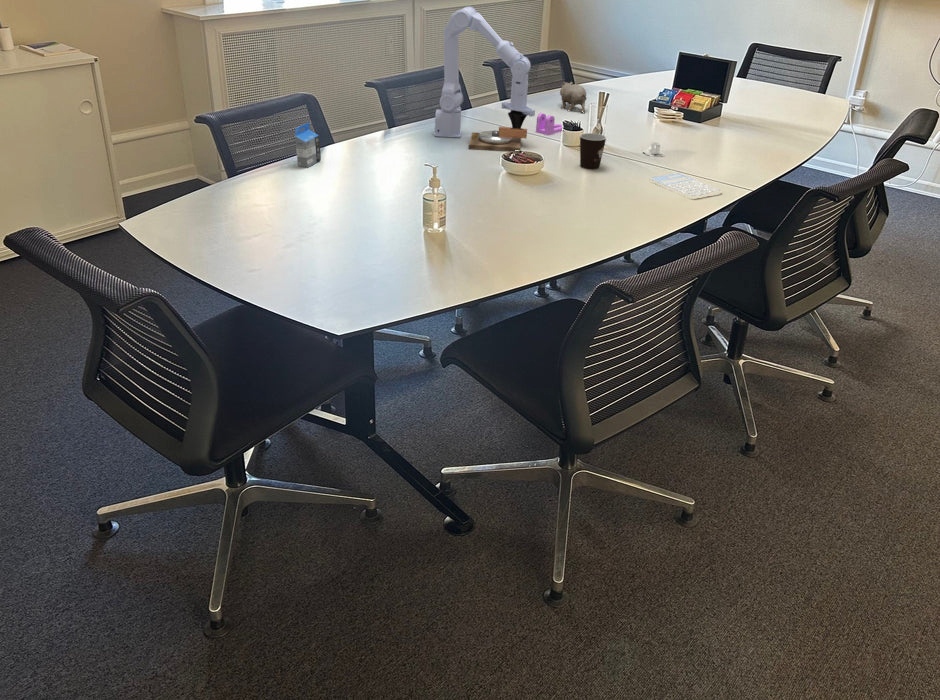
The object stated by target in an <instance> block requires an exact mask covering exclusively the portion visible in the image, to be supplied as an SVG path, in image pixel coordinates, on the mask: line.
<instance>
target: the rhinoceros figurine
mask: <svg viewBox="0 0 940 700" xmlns="http://www.w3.org/2000/svg"><path fill="white" fill-rule="evenodd" d="M559 94H560V96H561V102H562V106H561V107H560V108H561V109H563V108H564V109H566V108H567V105H566V103H568V104H569V107H568V108H567V110H570V111H569V112H572V111H573V110H574V109H575V107H576V106H579V105H580V107H581V111H580V112H581V113H583V112H585V113H586V111H585V106H586V105H585V103H586V100H587V99H588V98H587V91H586V89H585V88H584V87H583V86H581V85H578V84H576V83H573V82H572V81H570V82H565V81H563V82H562V86H561V88H560V90H559ZM571 110H572V111H571ZM582 111H583V112H582Z"/></svg>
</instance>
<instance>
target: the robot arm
mask: <svg viewBox="0 0 940 700" xmlns="http://www.w3.org/2000/svg"><path fill="white" fill-rule="evenodd" d="M468 28H469V31H473V32H474V31H475V32H478V33H480V34H481V35H482V36H483V37H484V38H485V39H486V40H487V41H488V42H489V43H490V44H491V45H492V46H493V47H494V48H495V53H496V55H497V56H498V57H499V58H500V59H501V60H502V61H503V62H504V63H505V65H506V66H508V67H509V68H510V72H511V74H512V76H511V77H512V78H511V90H510V102H506V101H504V102H501V109H506V110H509V112H507V116H508V118H509V120H510V122H511V125H512V126H511V128H522V127H523V126H522V125H523V124H524V121H525V120H526V118H527V117H528V116H529V117H535V116H536V115H535V114H536V110H535V109H532V108H530V107H529V106H527V101H528V89H529V88H528V87H529V72H530V70H531V66H532V65H531V61H530V60H529V58H528V57H527V56H524V54H523V53H520V52H519V50H517V48H516V47H514V45H515V44H514V43H513V42H512V41H509V40H504V39H502V38H501V37H500V36H499V34H498V33H497V32H496V31H495V30H494V29H493V27H491V25H490V24H489V23H488V22H487V21H486V19H485V18H484V17H483V16H482V14H481V13H480V12H477V10H476V9H475V8H474V7H472V6H465V7H463V8H461V9H458V10H456V11H455V12H453V13H452V14H451V15H450V18H449V20H448V21H447V24H446V25H445V27H444V29H443V69H444V70H443V74H444V77H443V81H444V82H443V85H442V89H441V96H440V98H439V106H440V108H441V109H436V110H435V117H434V118H435V119H434V136H435V137H442V138H444V137H445V138H457V139H458V138H459V139H460V138H461V137H462V134H463V130H461V129H462V128H461V127H462V126H461V125H462V124H461V123H462V120H461V119H462V107H461V105H462V104H463V102H464V94H463V92H462V89H461V88H462V85H461V84H460V82H459V77H460V76H459V71H460V69H459V67H460V66H459V63H460V62H459V36H460V35H461V34H462V33H463V32H464V31H465V30H466V29H468Z"/></svg>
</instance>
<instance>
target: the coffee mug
mask: <svg viewBox="0 0 940 700" xmlns="http://www.w3.org/2000/svg"><path fill="white" fill-rule="evenodd" d="M606 140H607V136H605V135H603V134H600V133H595V132H594V133H592V132H588V133H581V134H580V135H579V159H580V161H579V164H580V166H579V167H581V168H583V169H586V170H597V169H599V168H600V166H601V162H602V158H603V157H602V156H603V153H604V149H605V145H606Z"/></svg>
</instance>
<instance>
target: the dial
mask: <svg viewBox="0 0 940 700" xmlns="http://www.w3.org/2000/svg"><path fill="white" fill-rule="evenodd" d="M479 133H480V134H479V140H480V141H482V142H485V143H489V144H507V143H510V142H512V138H513V137H515V138H521V139H527V137H528V128H523V127H521V128H512V126H511V127H509V126H499V127H498V130H485V131H481V132H479Z"/></svg>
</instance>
